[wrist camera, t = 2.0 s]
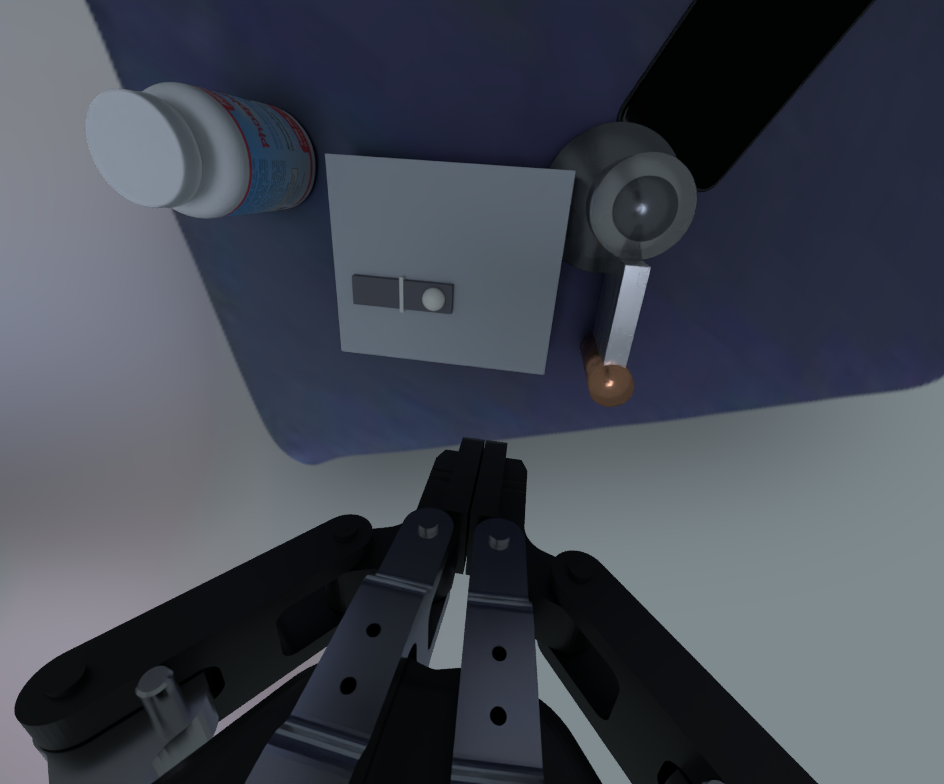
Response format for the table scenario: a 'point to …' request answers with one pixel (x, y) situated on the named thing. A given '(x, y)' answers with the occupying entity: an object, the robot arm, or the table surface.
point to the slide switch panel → (447, 259)
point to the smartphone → (733, 75)
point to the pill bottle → (199, 151)
